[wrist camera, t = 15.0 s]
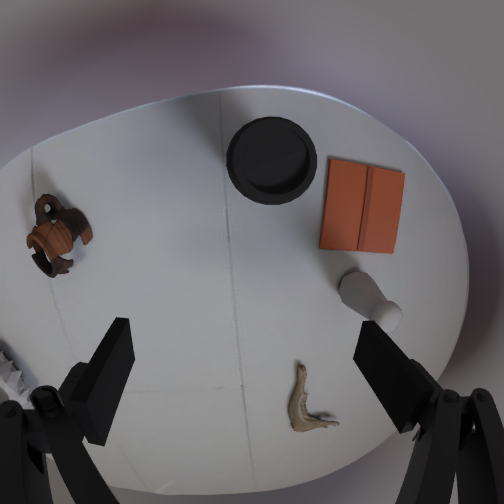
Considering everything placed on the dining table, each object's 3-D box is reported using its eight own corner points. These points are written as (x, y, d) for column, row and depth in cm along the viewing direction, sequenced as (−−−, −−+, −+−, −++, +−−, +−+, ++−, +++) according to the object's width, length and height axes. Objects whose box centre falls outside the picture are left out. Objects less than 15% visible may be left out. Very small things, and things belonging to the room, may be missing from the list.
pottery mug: (105, 253, 40) (68, 286, 34) (71, 250, 43) (39, 279, 37) (76, 178, 34) (31, 206, 27) (46, 186, 37) (7, 211, 31)
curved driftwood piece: (300, 434, 54) (301, 441, 52) (255, 380, 49) (256, 388, 47) (338, 419, 53) (340, 426, 51) (302, 360, 48) (304, 367, 46)
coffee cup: (295, 181, 40) (335, 187, 25) (239, 203, 40) (249, 222, 25) (272, 125, 37) (301, 100, 23) (215, 147, 37) (211, 133, 23)
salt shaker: (366, 263, 44) (411, 295, 32) (367, 295, 46) (408, 334, 33) (332, 271, 44) (370, 308, 31) (335, 304, 45) (370, 348, 33)
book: (329, 158, 39) (331, 158, 38) (403, 173, 41) (406, 173, 40) (318, 247, 43) (320, 249, 42) (391, 252, 44) (394, 254, 43)
